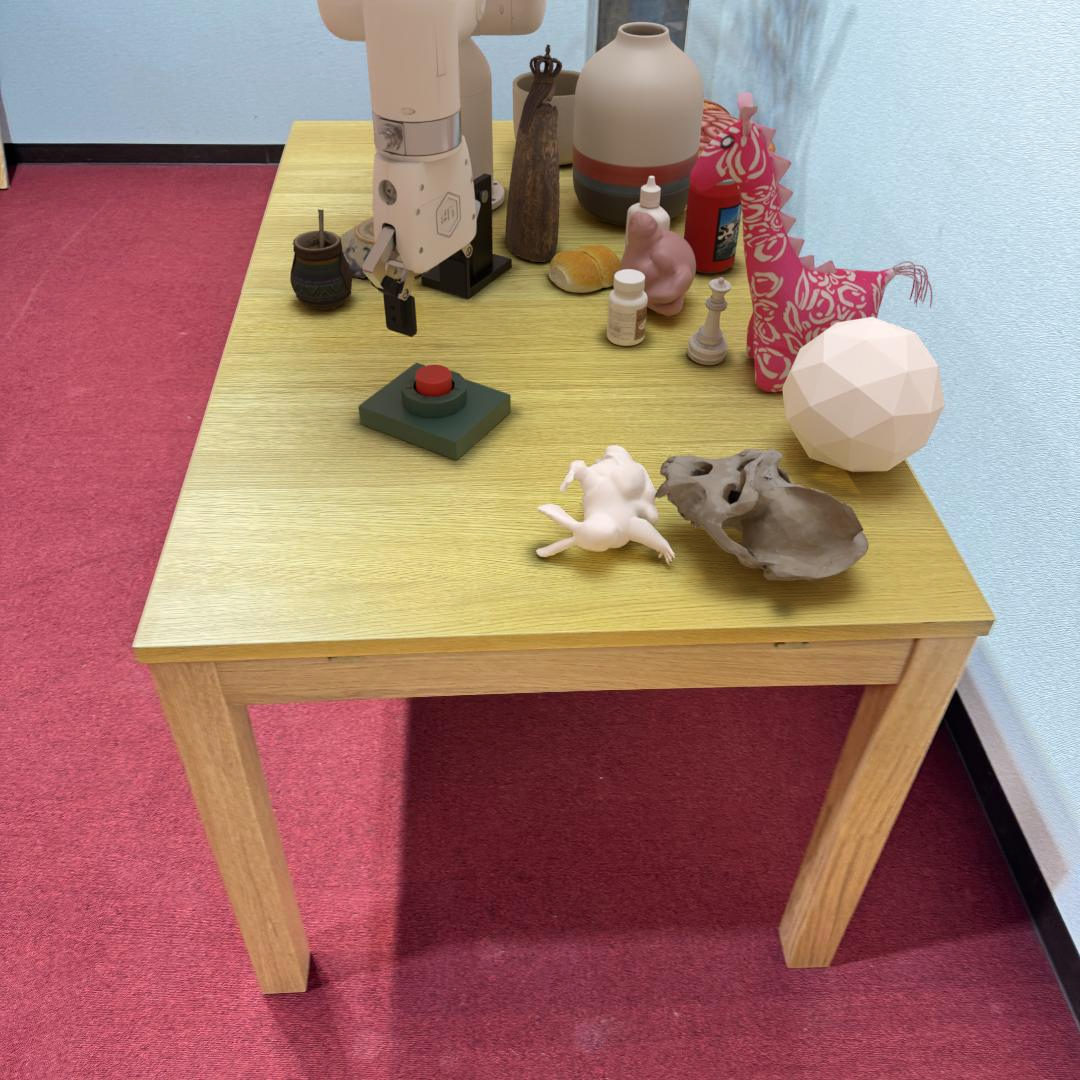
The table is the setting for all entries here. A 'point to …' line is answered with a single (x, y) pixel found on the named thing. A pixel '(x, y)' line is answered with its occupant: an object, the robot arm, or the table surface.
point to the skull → (765, 514)
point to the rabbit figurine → (609, 507)
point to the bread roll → (584, 268)
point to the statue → (536, 170)
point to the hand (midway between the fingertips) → (429, 311)
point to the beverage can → (713, 225)
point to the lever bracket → (478, 246)
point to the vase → (636, 123)
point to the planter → (561, 99)
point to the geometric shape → (863, 395)
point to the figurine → (659, 263)
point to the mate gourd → (320, 269)
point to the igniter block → (435, 413)
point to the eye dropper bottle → (649, 206)
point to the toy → (784, 254)
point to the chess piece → (711, 328)
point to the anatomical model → (716, 124)
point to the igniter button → (433, 380)
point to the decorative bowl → (362, 248)
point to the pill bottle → (627, 308)
